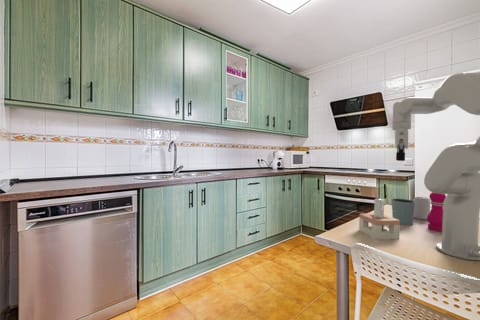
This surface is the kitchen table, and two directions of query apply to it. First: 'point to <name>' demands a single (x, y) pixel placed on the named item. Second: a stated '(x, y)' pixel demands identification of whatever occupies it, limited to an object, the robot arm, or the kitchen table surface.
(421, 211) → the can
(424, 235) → the kitchen table surface
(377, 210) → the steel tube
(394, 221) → the collar stand
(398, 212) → the grey teal tapered bin
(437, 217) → the pepper mill
